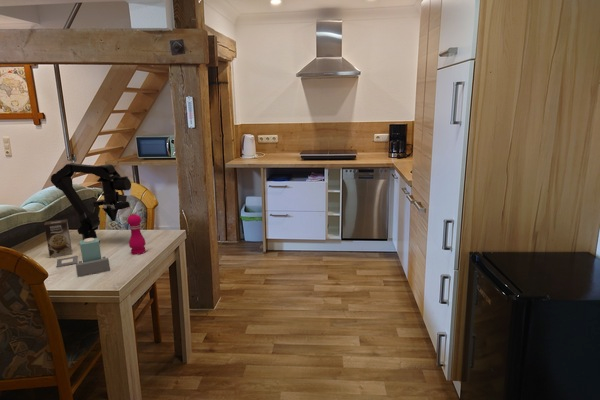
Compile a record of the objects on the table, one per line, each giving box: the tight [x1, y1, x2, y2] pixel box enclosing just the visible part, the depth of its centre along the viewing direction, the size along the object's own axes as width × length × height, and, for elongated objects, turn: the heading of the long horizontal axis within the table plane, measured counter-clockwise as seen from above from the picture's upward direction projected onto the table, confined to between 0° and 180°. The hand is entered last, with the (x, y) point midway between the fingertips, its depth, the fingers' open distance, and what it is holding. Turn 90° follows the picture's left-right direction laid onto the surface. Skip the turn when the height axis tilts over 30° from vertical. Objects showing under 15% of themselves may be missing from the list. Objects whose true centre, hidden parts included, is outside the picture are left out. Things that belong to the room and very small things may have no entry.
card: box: [56, 255, 79, 268], centre depth 176 cm, size 10×8×1 cm
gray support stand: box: [75, 256, 111, 278], centre depth 166 cm, size 11×12×5 cm
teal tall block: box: [79, 237, 103, 263], centre depth 166 cm, size 6×7×13 cm
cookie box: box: [43, 218, 73, 259], centre depth 184 cm, size 9×6×16 cm
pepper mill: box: [126, 211, 146, 256], centre depth 183 cm, size 7×7×20 cm
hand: (113, 221), depth 196 cm, fingers closed
